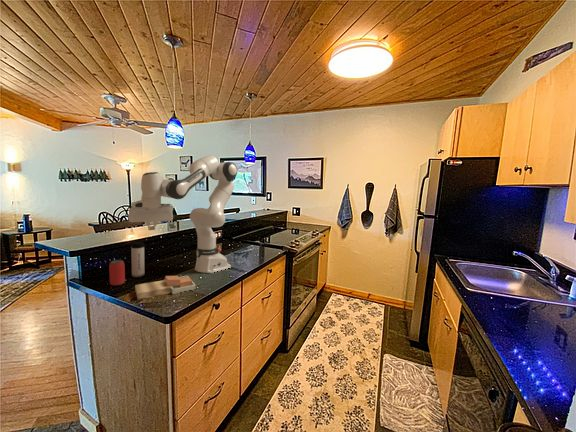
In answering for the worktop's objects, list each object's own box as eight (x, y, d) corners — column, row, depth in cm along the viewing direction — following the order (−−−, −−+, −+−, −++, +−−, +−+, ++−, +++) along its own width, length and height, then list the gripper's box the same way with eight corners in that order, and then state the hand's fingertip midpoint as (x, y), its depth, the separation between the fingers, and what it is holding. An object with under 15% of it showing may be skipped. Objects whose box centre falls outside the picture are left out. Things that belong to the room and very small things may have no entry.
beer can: (117, 286, 124) (116, 264, 122) (106, 284, 125) (105, 262, 123) (128, 281, 130) (127, 260, 129) (117, 280, 131) (117, 258, 130)
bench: (166, 285, 129) (166, 279, 128) (170, 293, 120) (170, 287, 120) (135, 290, 120) (134, 285, 120) (137, 299, 111) (137, 293, 111)
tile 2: (188, 282, 133) (188, 276, 132) (192, 286, 128) (192, 280, 128) (177, 284, 129) (177, 279, 129) (180, 288, 124) (180, 282, 124)
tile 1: (176, 281, 129) (177, 275, 129) (179, 285, 124) (180, 279, 124) (164, 281, 125) (165, 276, 125) (167, 285, 120) (168, 280, 120)
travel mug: (134, 272, 143) (134, 239, 140) (146, 273, 143) (146, 240, 141) (128, 276, 136) (128, 242, 134) (141, 277, 137) (140, 242, 135)
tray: (187, 279, 137) (187, 275, 137) (195, 289, 125) (195, 285, 125) (165, 283, 130) (165, 279, 130) (172, 294, 118) (172, 289, 118)
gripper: (171, 203, 134) (171, 227, 135) (127, 203, 121) (128, 230, 123) (174, 204, 129) (174, 229, 131) (128, 204, 116) (129, 232, 118)
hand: (151, 229), depth 127 cm, fingers closed
